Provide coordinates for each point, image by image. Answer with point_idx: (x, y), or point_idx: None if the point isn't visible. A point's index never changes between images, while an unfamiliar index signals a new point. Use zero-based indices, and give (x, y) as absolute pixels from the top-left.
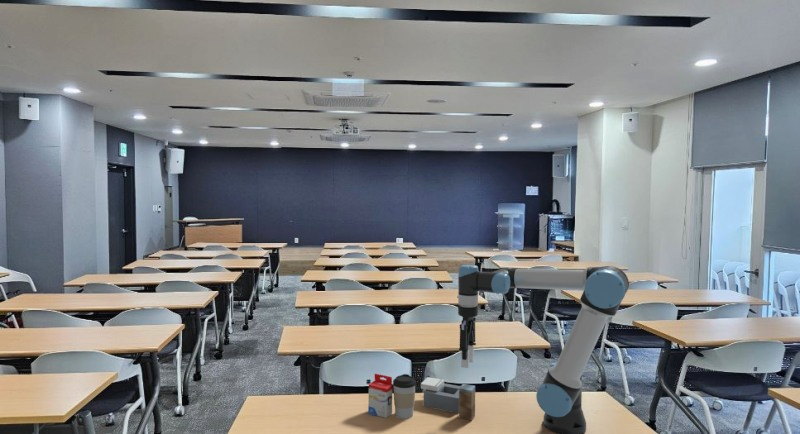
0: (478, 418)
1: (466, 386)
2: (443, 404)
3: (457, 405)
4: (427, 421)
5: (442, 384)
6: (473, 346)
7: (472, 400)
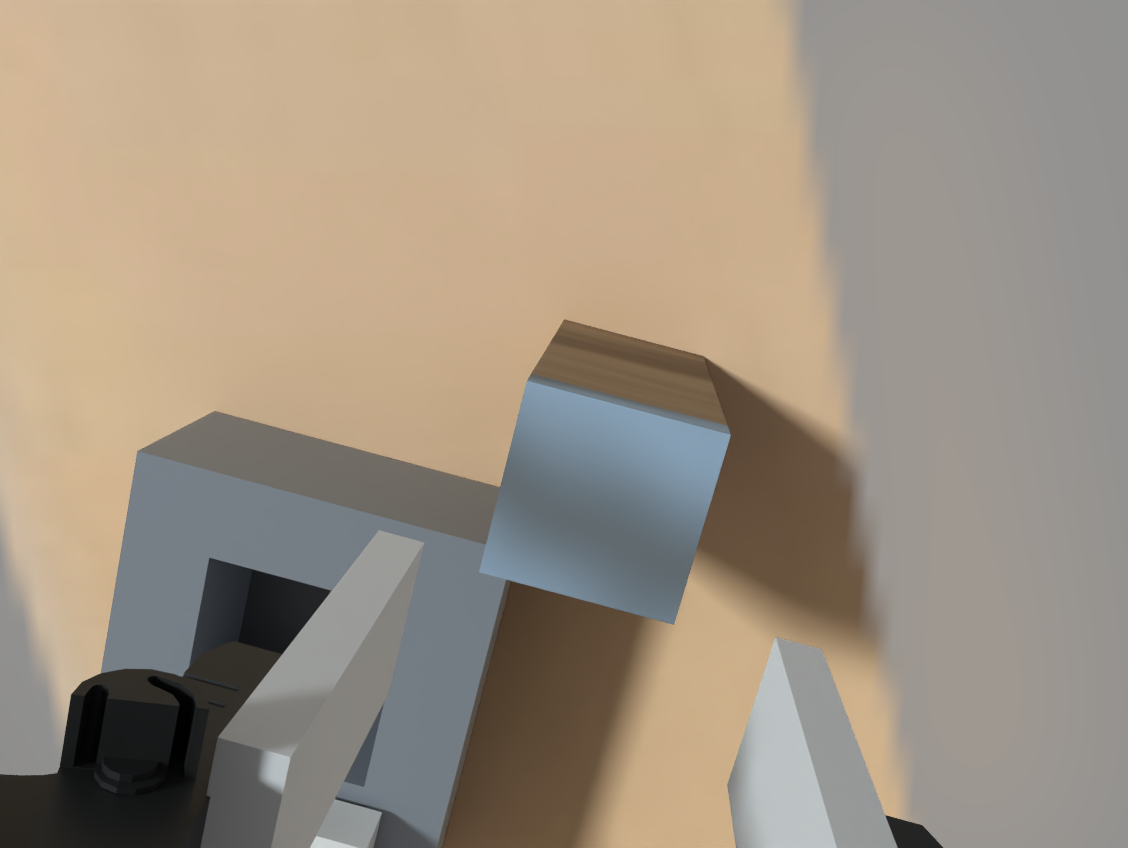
0: (611, 280)
1: (577, 517)
2: (483, 682)
3: None
4: None
5: None
6: (242, 731)
7: (678, 388)
